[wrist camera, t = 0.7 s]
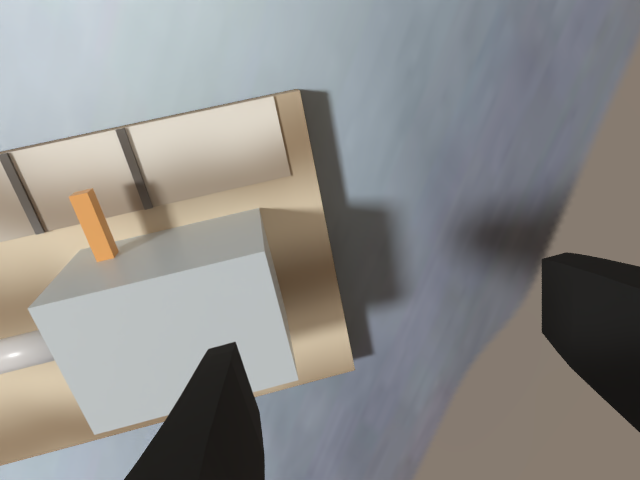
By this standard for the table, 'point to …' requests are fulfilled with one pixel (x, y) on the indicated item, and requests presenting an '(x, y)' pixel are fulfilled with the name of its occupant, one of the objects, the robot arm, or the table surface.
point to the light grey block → (156, 314)
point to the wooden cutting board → (156, 215)
